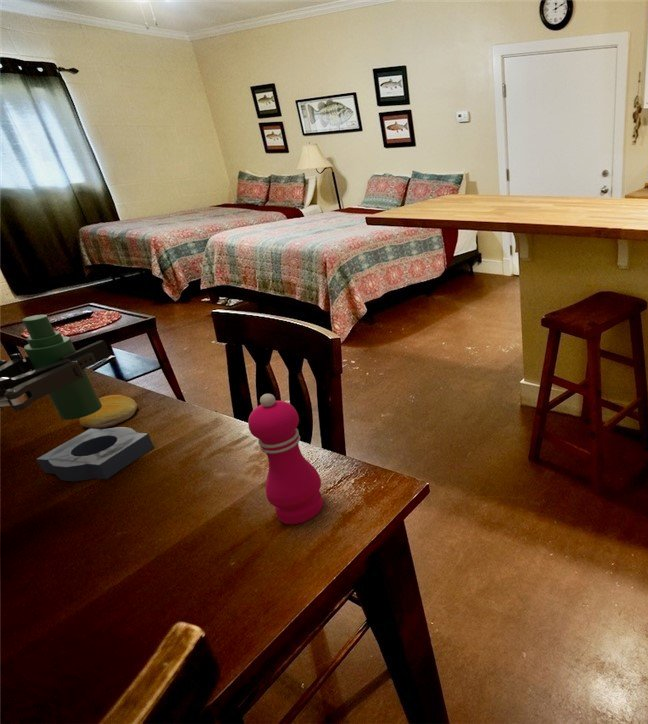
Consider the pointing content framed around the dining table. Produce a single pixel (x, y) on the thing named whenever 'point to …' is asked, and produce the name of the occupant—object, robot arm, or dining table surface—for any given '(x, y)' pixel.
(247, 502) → the dining table surface
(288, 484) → the pepper mill
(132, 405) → the bread roll
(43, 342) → the bottle
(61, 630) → the dining table surface
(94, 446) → the hole board
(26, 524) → the dining table surface
